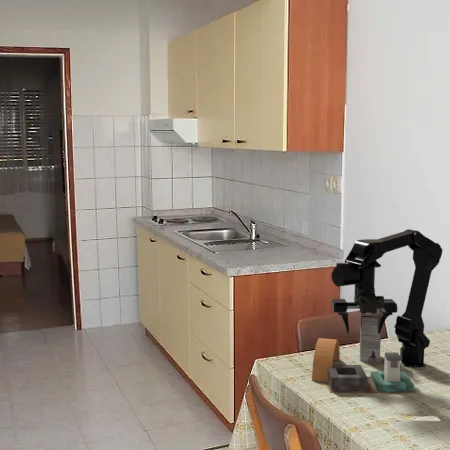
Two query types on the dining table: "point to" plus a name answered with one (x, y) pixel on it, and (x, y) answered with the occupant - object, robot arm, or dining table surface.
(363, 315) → the coffee box
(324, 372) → the arch
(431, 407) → the dining table surface
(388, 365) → the plug
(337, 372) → the dock
